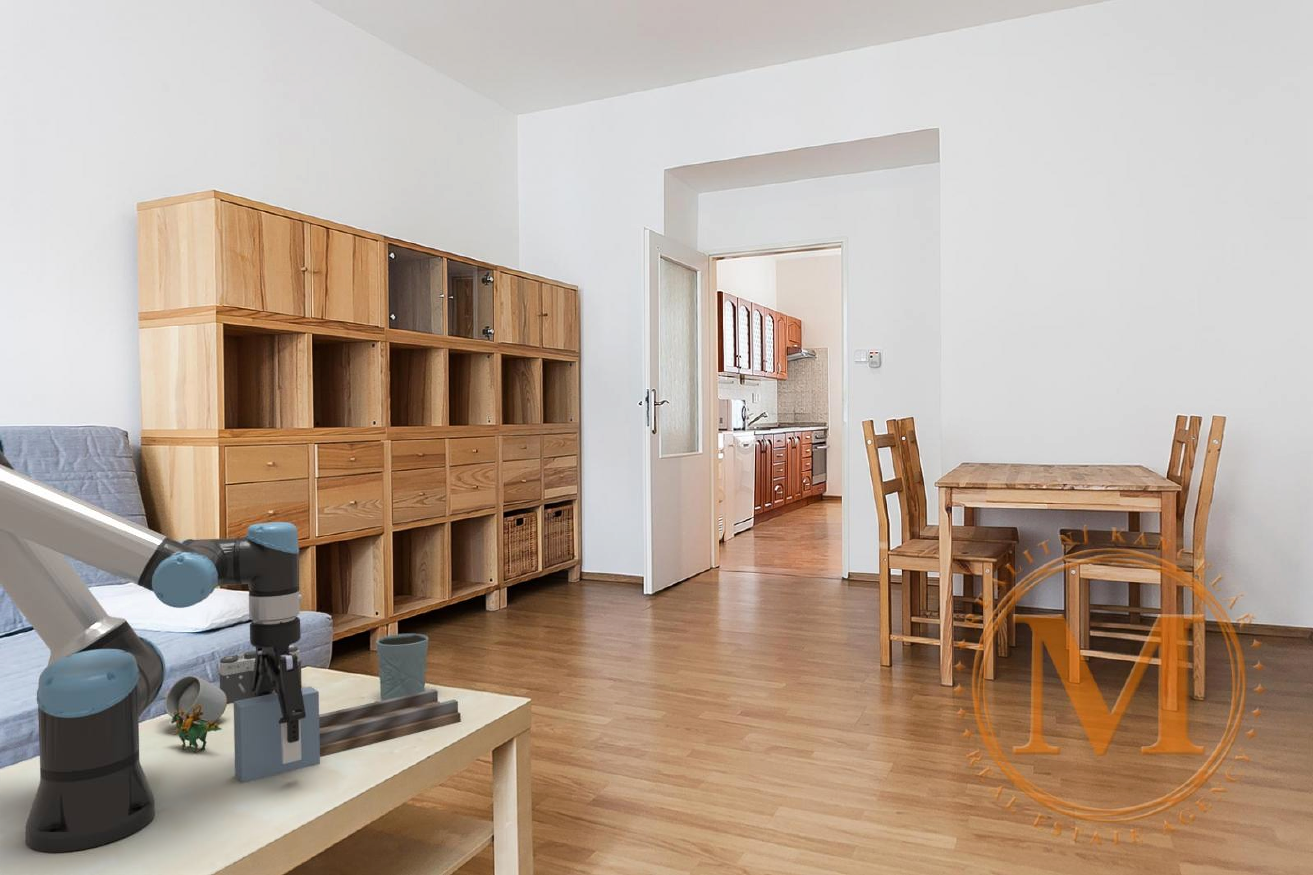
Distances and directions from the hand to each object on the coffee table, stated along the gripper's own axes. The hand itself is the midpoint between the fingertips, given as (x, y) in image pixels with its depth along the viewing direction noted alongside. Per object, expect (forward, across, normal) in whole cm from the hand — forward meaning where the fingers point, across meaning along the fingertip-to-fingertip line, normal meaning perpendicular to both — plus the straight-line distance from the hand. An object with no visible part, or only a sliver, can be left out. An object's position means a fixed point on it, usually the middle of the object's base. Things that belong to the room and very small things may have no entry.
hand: (278, 749), depth 142 cm
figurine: (+4, +18, +8) cm, 20 cm away
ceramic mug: (+4, +32, +6) cm, 33 cm away
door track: (+3, +7, -20) cm, 21 cm away
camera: (+4, +40, -9) cm, 41 cm away
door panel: (+3, 0, 0) cm, 3 cm away
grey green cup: (+4, +22, -31) cm, 38 cm away
